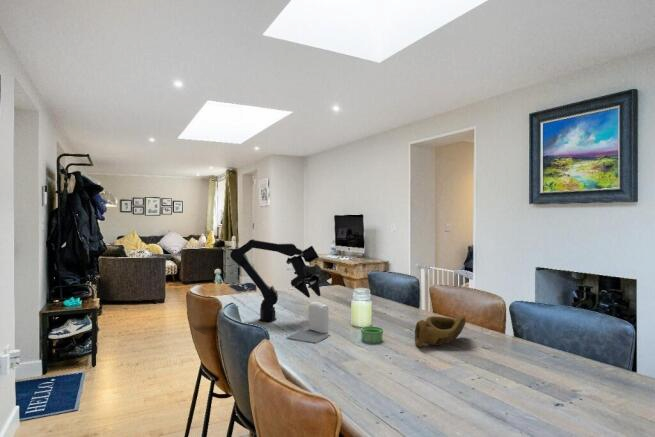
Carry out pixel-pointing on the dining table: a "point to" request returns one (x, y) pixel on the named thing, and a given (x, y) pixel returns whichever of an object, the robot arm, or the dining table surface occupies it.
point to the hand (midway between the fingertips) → (314, 296)
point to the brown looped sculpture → (438, 330)
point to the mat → (308, 336)
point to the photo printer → (318, 317)
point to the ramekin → (372, 334)
